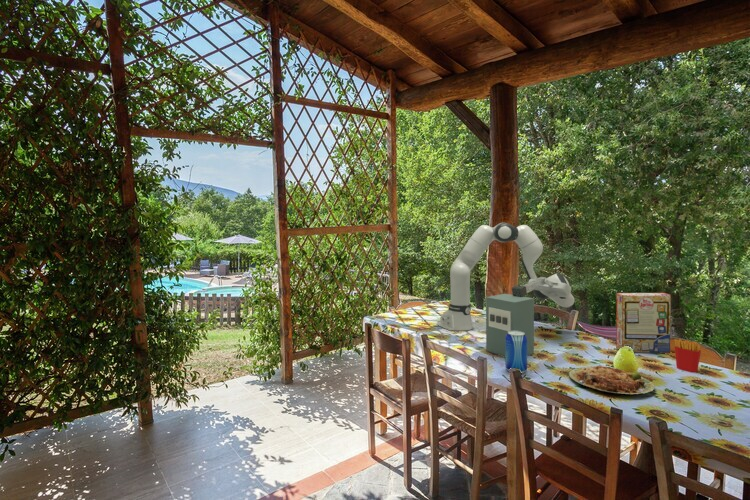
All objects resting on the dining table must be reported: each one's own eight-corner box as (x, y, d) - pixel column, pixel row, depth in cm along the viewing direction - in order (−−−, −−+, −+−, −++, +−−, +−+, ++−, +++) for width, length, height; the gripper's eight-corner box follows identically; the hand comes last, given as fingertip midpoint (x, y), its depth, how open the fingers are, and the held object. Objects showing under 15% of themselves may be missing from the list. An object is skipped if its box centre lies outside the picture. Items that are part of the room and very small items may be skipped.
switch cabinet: (484, 351, 182) (483, 297, 181) (505, 344, 191) (504, 293, 189) (512, 360, 169) (512, 302, 167) (533, 353, 178) (533, 298, 176)
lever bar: (512, 295, 184) (511, 287, 183) (539, 282, 195) (538, 274, 195) (521, 297, 180) (520, 289, 179) (548, 283, 191) (547, 275, 191)
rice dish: (568, 367, 163) (567, 355, 163) (646, 374, 151) (646, 361, 151) (569, 394, 138) (568, 380, 138) (663, 405, 126) (663, 389, 126)
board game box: (663, 349, 179) (664, 292, 177) (670, 354, 173) (672, 295, 171) (615, 348, 182) (616, 292, 180) (621, 352, 176) (622, 294, 174)
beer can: (528, 375, 153) (529, 336, 152) (506, 374, 155) (506, 335, 153) (524, 367, 161) (525, 330, 160) (504, 366, 163) (504, 329, 162)
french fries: (701, 371, 152) (702, 342, 151) (697, 374, 150) (698, 344, 149) (675, 365, 159) (676, 337, 159) (671, 367, 157) (672, 338, 156)
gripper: (537, 282, 208) (524, 272, 201) (574, 287, 191) (561, 276, 184) (534, 293, 207) (520, 283, 200) (571, 299, 190) (557, 288, 183)
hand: (540, 279), depth 192 cm, fingers closed on lever bar, 3 cm apart
